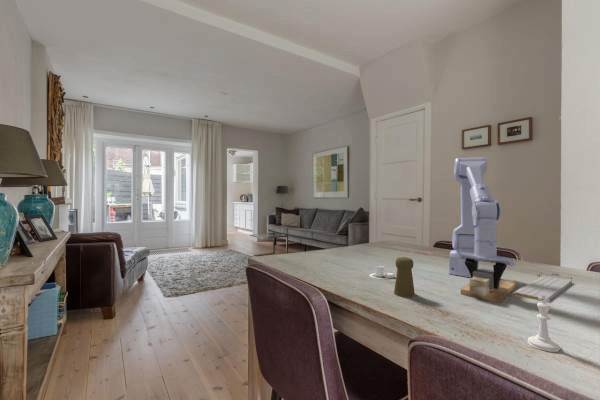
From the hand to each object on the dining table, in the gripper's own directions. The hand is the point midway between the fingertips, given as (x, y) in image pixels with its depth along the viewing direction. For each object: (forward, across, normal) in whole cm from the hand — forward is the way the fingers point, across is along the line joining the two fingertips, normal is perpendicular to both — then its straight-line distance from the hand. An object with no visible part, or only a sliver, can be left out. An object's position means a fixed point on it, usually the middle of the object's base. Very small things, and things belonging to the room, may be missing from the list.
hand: (485, 285), depth 89 cm
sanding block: (+1, 0, +1) cm, 1 cm away
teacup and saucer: (+3, -31, -7) cm, 32 cm away
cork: (+3, -17, -18) cm, 25 cm away
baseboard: (+3, +11, +20) cm, 23 cm away
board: (+2, 0, +5) cm, 6 cm away
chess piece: (+3, +17, -28) cm, 32 cm away
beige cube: (+1, 0, -6) cm, 6 cm away
